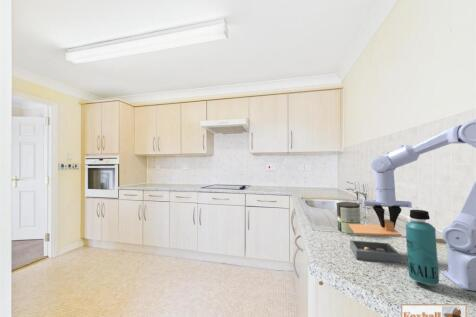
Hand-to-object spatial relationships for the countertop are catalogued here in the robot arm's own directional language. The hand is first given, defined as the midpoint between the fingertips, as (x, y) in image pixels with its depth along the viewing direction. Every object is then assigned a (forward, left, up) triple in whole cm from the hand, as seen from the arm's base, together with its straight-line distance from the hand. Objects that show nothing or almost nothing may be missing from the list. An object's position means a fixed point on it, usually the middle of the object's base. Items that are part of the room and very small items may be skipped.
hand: (387, 227), depth 74 cm
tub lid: (0, +5, -2) cm, 5 cm away
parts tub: (0, +5, -10) cm, 12 cm away
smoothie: (+23, -18, -11) cm, 31 cm away
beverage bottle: (-18, -2, -11) cm, 21 cm away
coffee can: (+27, +8, -11) cm, 30 cm away
